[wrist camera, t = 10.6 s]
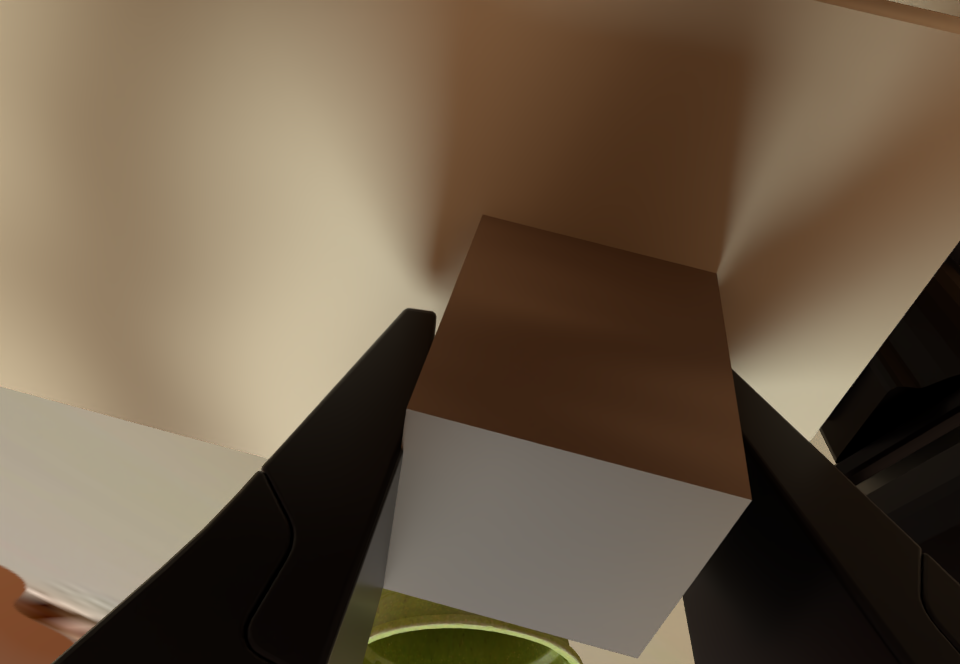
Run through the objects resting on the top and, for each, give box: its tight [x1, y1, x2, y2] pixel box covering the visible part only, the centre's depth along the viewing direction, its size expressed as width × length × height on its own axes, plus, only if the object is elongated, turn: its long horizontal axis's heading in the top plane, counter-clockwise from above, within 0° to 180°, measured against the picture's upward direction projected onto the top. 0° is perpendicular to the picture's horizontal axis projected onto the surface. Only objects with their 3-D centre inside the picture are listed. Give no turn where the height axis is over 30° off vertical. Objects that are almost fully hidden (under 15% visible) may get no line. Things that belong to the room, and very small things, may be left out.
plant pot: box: [363, 588, 583, 664], centre depth 28 cm, size 9×9×9 cm
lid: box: [0, 0, 960, 658], centre depth 9 cm, size 20×9×4 cm, turn 81°
